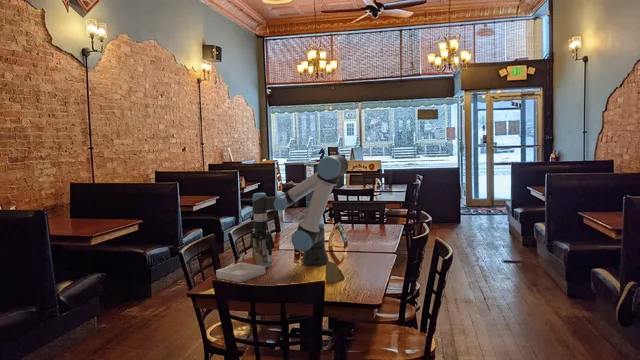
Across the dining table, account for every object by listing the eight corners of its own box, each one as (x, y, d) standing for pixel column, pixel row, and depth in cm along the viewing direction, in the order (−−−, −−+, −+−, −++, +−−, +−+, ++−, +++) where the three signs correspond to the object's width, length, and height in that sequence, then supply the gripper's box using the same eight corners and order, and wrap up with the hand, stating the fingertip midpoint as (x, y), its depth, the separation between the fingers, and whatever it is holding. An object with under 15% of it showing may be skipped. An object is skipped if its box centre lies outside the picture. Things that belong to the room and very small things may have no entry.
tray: (265, 273, 252) (264, 266, 252) (240, 282, 238) (240, 275, 237) (241, 269, 263) (241, 262, 262) (216, 277, 248) (216, 270, 248)
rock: (344, 272, 240) (324, 270, 240) (346, 261, 235) (326, 259, 235) (344, 290, 232) (323, 288, 232) (345, 279, 226) (325, 277, 226)
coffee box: (272, 266, 267) (271, 238, 266) (263, 268, 263) (262, 240, 261) (262, 263, 274) (261, 236, 272) (253, 266, 269) (252, 238, 268)
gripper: (241, 220, 269) (244, 259, 271) (270, 223, 256) (272, 263, 258) (251, 218, 275) (253, 256, 277) (279, 220, 262) (281, 260, 264)
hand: (262, 259), depth 268 cm, fingers closed on coffee box, 9 cm apart
